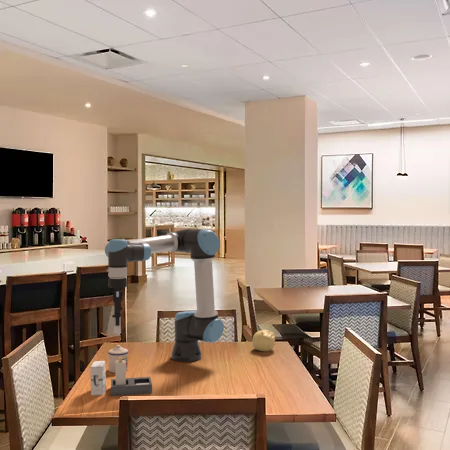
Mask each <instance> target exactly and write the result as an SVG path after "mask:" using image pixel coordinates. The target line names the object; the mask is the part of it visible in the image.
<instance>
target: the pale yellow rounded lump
mask: <svg viewBox="0 0 450 450" xmlns="http://www.w3.org/2000/svg"><path fill="white" fill-rule="evenodd" d="M275 344H276V338H275V333H274V332H272V331H271V330H268V329H263V330H262V329H261V330H258V331H256V332H255V333H254V335H253V337H252V346H253V348H254V349H255V350H256V351H259V352H260V351H262V352H270V351H272V350H273V348H274V347H275Z"/></svg>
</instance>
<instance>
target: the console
mask: <svg viewBox="0 0 450 450" xmlns="http://www.w3.org/2000/svg"><path fill="white" fill-rule="evenodd" d="M110 391H111V393H110V397H118V396H119V397H120V396H133V395H147V394H153V382H152V379H151V376H144V377H143V376H141V377H126V385H116V378H111V379H110Z"/></svg>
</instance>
